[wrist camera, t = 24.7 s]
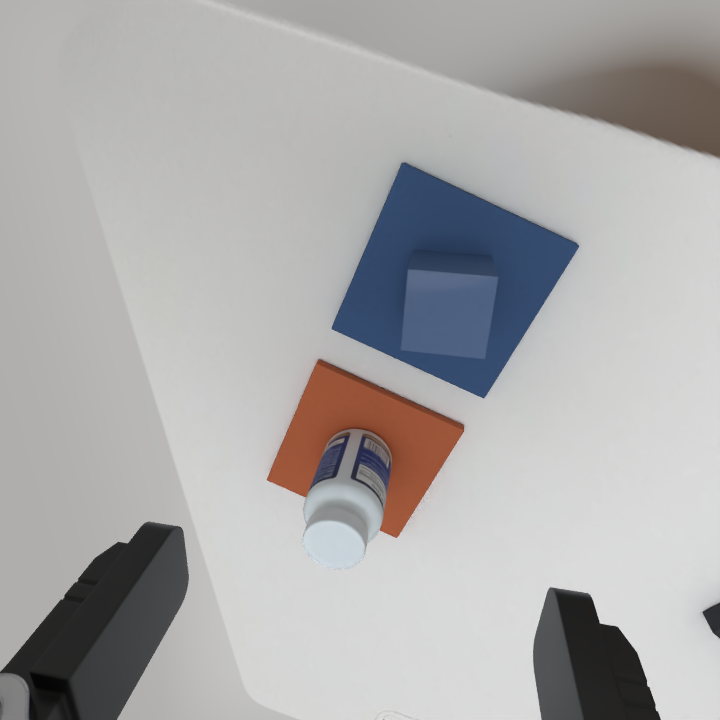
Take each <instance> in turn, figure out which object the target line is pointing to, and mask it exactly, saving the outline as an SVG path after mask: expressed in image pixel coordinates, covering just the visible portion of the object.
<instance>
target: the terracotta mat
mask: <svg viewBox="0 0 720 720" xmlns="http://www.w3.org/2000/svg"><path fill="white" fill-rule="evenodd" d="M348 429H362V430H366V431H370V432H372V433H374V434H376V435H377V436H378V437H380V438H381V439H382V440H383V441H384V442H385V443H386V444H387V446H388V448H389V450H390V452H391V456H392V466H391V473H390V479H389V485H388V491H387V497H386V503H385V509H384V515H383V521H382V524H381V527H380V531H382V532H384V533H387V534H389V535H391V536H393V537H396V538H397V537H398V536H399V534H400V532H401V531H402V529H403V528H404V526H405V524H406V523H407V521H408V520H409V518H410V516H411V515H412V513H413V512H414V510H415V508H416V507H417V505H418V504H419V502H420V500H421V499H422V497H423V496H424V494H425V492H426V491H427V489H428V488H429V486H430V484H431V483H432V481H433V480H434V478H435V476H436V475H437V473H438V472H439V470H440V468H441V467H442V465H443V464H444V462H445V460H446V459H447V457H448V456H449V454H450V452H451V451H452V449H453V448H454V446H455V444H456V443H457V441H458V440H459V438H460V436H461V435H462V433H463V432H464V425H462V424H460V423H458V422H455V421H453V420H451V419H449V418H447V417H444V416H442V415H440V414H438V413H436V412H433V411H431V410H429V409H427V408H425V407H422V406H420V405H418V404H416V403H414V402H411V401H409V400H407V399H405V398H403V397H400V396H398V395H396V394H394V393H392V392H389V391H387V390H385V389H383V388H381V387H378V386H376V385H374V384H372V383H370V382H367V381H365V380H363V379H361V378H359V377H356V376H354V375H352V374H350V373H348V372H345V371H343V370H341V369H339V368H337V367H334V366H332V365H330V364H328V363H326V362H323V361H321V360H318V362H317V363H316V366H315V368H314V370H313V373H312V375H311V377H310V380H309V382H308V384H307V387H306V389H305V391H304V394H303V396H302V398H301V401H300V403H299V405H298V408H297V410H296V412H295V415H294V417H293V419H292V422H291V424H290V426H289V429H288V431H287V433H286V436H285V438H284V440H283V443H282V445H281V447H280V450H279V452H278V454H277V457H276V459H275V461H274V464H273V466H272V468H271V471H270V473H269V476H268V478H267V480H268V481H270V482H272V483H275V484H277V485H279V486H281V487H284V488H286V489H288V490H290V491H293V492H295V493H297V494H299V495H302V496H304V497H306V496H307V494H308V491H309V489H310V486H311V483H312V481H313V478H314V476H315V473H316V471H317V468H318V466H319V463H320V460H321V458H322V455H323V452H324V450H325V448H326V446H327V444H328V442H329V440H330V439H331V438H332V437H333V436H334V435H336V434H337V433H339V432H341V431H344V430H348Z"/></svg>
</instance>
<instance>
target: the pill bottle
mask: <svg viewBox="0 0 720 720" xmlns="http://www.w3.org/2000/svg"><path fill="white" fill-rule="evenodd" d="M391 466H392V456H391V452H390V450H389V448H388V446H387V444H386V443H385V442H384V441H383V440H382V439H381V438H380V437H378V436H377V435H376V434H374V433H372V432H370V431H366V430H362V429H348V430H344V431H341V432H339V433H337V434H336V435H334V436H333V437H332V438H331V439H330V440H329V442H328V444H327V446H326V448H325V450H324V452H323V455H322V458H321V460H320V463H319V466H318V468H317V471H316V473H315V476H314V478H313V481H312V483H311V486H310V489H309V491H308V494H307V496H306V499H305V503H304V508H303V512H304V519H305V522H306V524H307V525H306V529H305V532H304V535H303V546H304V549H305V551H306V553H307V554H308V555H309V557H310V558H311V559H312V560H314V561H315V562H316V563H318V564H320V565H322V566H324V567H327V568H330V569H339V570H341V569H347V568H351V567H353V566H355V565H357V564H358V563H359V562H360V561H361V560H362V558H363V557H364V554H365V551H366V547H367V543H368V542H370V541H371V540H372V539H373V538H374V537H375V536H376V535H377V533H378V532H379V530H380V527H381V524H382V521H383V515H384V509H385V503H386V497H387V491H388V485H389V479H390V473H391Z"/></svg>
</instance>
